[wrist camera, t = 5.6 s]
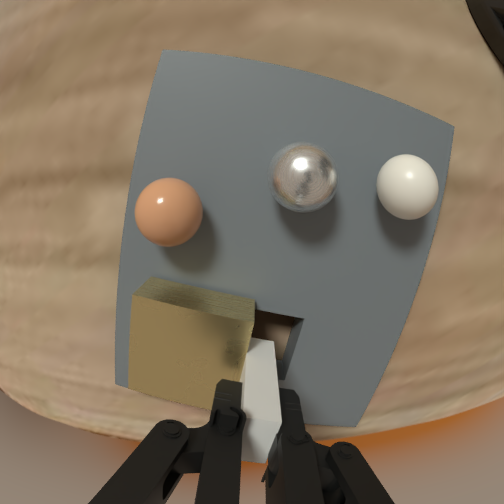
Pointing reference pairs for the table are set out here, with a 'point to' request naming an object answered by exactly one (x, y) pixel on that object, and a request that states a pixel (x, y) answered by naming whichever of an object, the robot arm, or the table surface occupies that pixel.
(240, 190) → the slate plate
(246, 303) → the brass cover
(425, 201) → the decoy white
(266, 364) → the robot arm
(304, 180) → the steel ball
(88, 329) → the table surface
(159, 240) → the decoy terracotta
